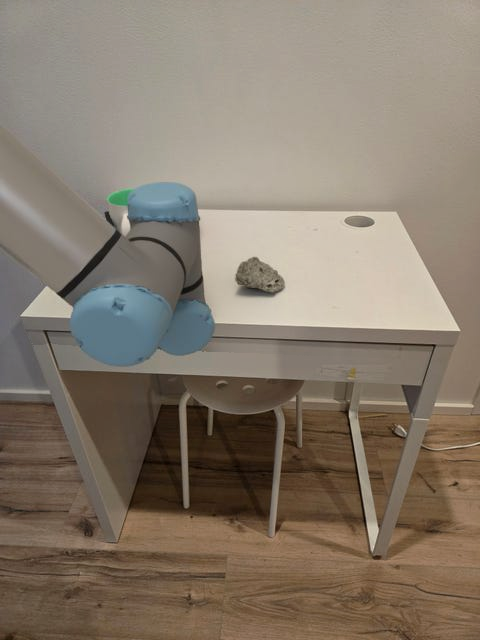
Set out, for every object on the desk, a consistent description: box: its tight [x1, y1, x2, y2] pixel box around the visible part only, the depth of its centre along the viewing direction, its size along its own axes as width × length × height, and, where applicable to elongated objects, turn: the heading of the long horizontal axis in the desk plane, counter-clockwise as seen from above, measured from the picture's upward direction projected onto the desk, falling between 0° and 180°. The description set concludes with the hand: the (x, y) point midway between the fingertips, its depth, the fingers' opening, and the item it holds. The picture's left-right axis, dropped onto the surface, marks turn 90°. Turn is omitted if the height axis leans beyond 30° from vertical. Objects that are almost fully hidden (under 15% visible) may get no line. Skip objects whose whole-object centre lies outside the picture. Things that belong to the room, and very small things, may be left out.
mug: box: [106, 187, 135, 237], centre depth 76 cm, size 12×8×10 cm, turn 6°
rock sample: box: [234, 256, 285, 293], centre depth 83 cm, size 10×8×9 cm
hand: (132, 215), depth 80 cm, fingers closed on mug, 8 cm apart
